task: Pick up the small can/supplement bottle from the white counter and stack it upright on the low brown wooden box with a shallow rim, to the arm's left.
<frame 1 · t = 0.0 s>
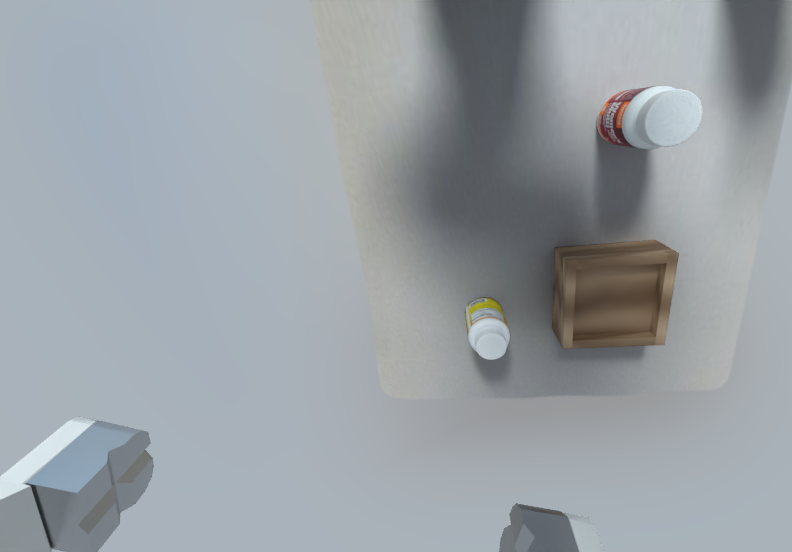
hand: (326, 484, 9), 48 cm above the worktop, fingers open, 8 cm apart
pill bottle: (621, 118, 48), on the worktop
brown wooden box: (600, 286, 56), on the worktop
supplement bottle: (483, 310, 60), on the worktop
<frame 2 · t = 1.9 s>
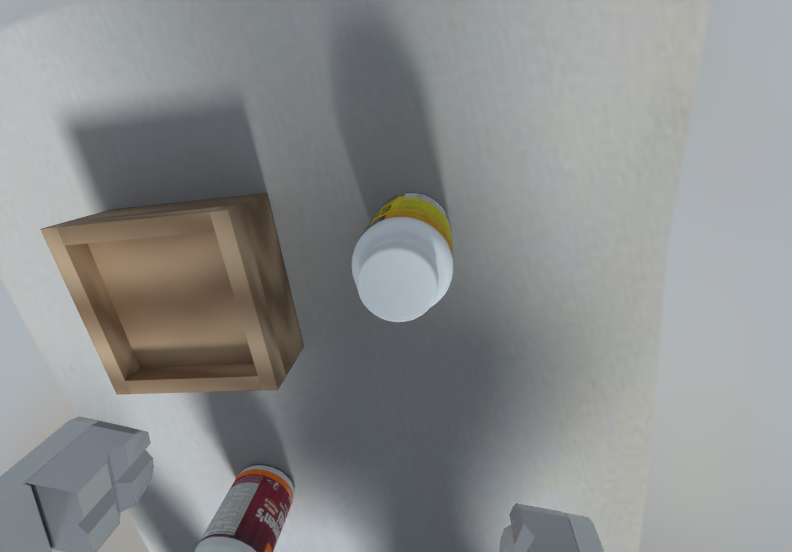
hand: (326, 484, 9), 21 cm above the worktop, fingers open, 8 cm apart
pill bottle: (267, 482, 40), on the worktop
brown wooden box: (210, 281, 31), on the worktop
supplement bottle: (412, 229, 28), on the worktop
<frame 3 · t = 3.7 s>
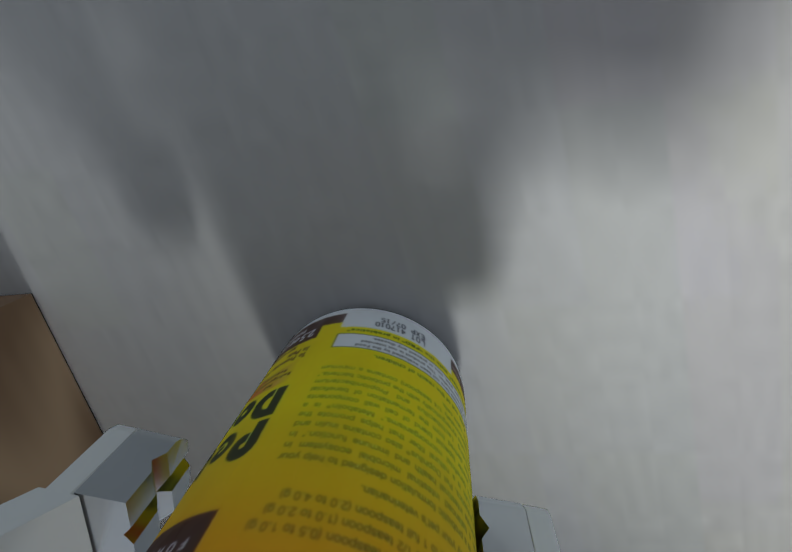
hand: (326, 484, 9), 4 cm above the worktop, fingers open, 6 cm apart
supplement bottle: (372, 377, 12), on the worktop, touching gripper
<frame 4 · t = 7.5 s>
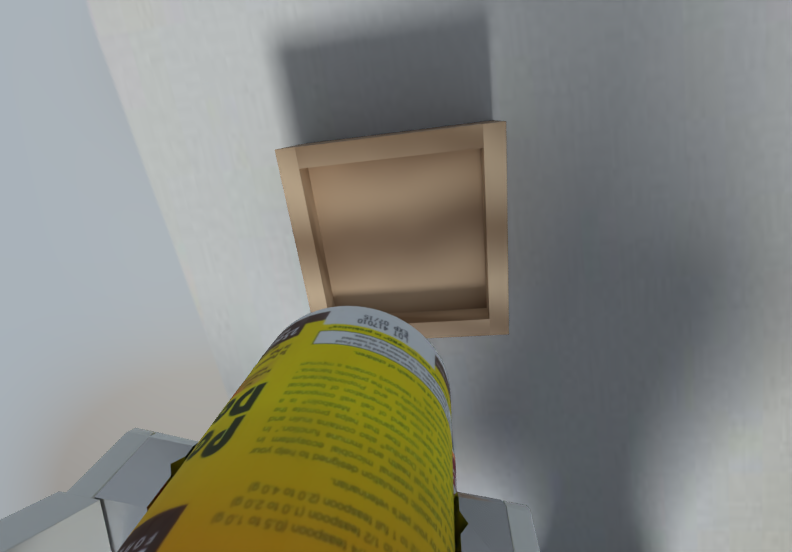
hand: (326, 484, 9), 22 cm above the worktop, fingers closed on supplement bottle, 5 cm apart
brown wooden box: (406, 224, 29), on the worktop
supplement bottle: (360, 375, 12), point 18 cm above the worktop, touching gripper
when the fingers open (9 cm above the worktop, at t = 10.0 s): supplement bottle stays where it is, resting on brown wooden box.
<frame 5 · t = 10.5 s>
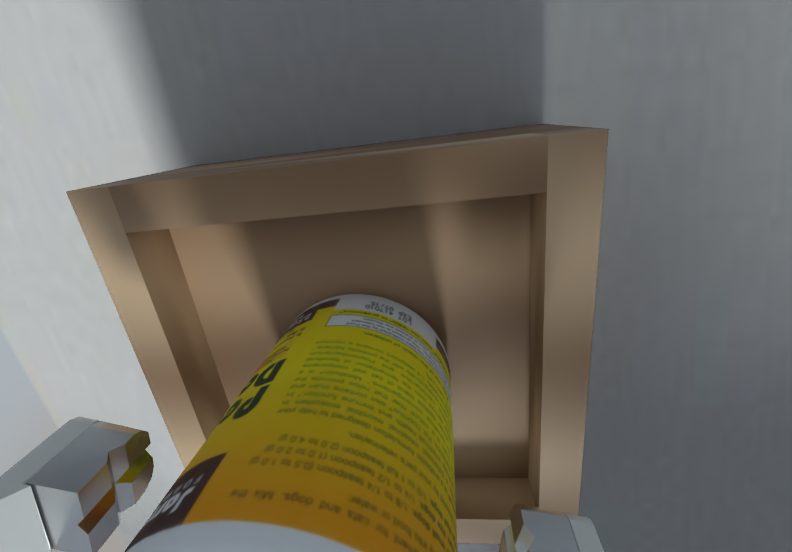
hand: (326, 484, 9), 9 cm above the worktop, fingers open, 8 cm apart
brown wooden box: (380, 305, 17), on the worktop
supplement bottle: (366, 359, 13), point 4 cm above the worktop, touching brown wooden box
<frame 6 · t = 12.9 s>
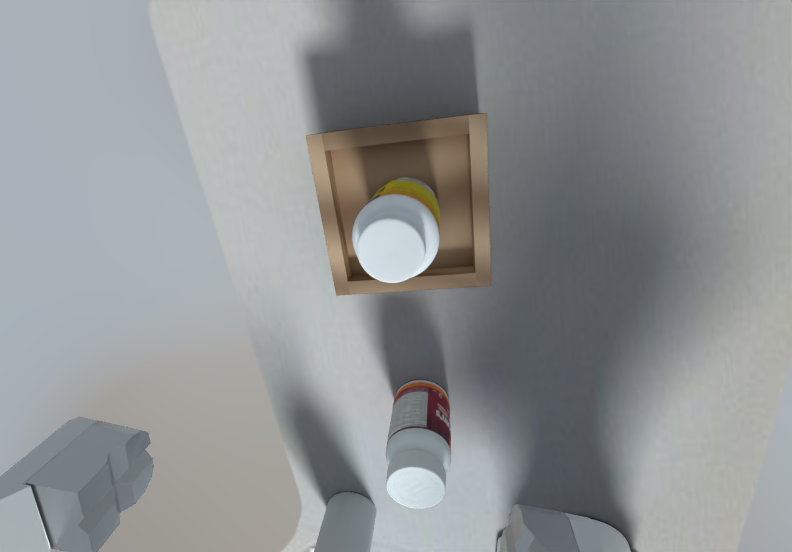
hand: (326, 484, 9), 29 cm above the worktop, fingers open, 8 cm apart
pill bottle: (421, 398, 44), on the worktop
bottle: (352, 507, 52), on the worktop
brown wooden box: (408, 199, 35), on the worktop
supplement bottle: (405, 210, 32), point 4 cm above the worktop, touching brown wooden box
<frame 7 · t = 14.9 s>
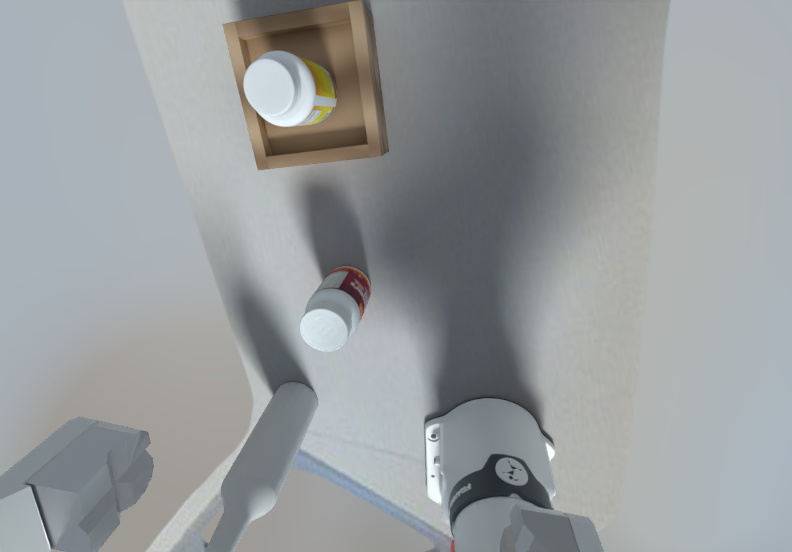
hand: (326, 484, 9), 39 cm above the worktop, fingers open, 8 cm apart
pill bottle: (348, 286, 51), on the worktop
bottle: (297, 398, 59), on the worktop
brown wooden box: (321, 95, 42), on the worktop
supplement bottle: (311, 94, 38), point 4 cm above the worktop, touching brown wooden box
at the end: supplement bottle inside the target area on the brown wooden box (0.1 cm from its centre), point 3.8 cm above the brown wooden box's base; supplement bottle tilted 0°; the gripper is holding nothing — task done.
